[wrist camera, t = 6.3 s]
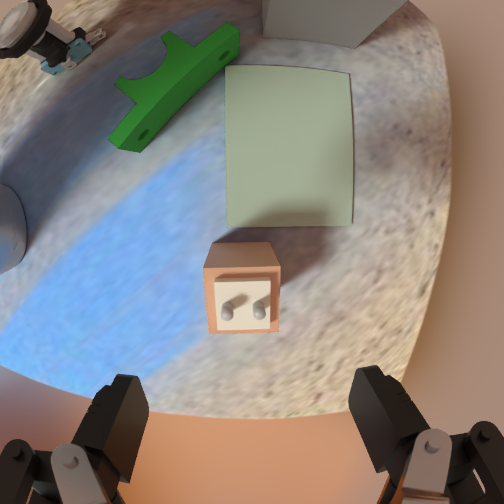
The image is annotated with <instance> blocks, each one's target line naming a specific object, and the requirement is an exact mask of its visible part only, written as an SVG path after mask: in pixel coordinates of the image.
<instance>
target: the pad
mask: <svg viewBox="0 0 504 504" xmlns="http://www.w3.org/2000/svg"><path fill="white" fill-rule="evenodd" d="M225 158H226V205H227V228H240V227H294V226H351V222H352V200H353V131H352V110H351V95H350V83H349V74H346V73H340V72H333V71H326V70H319V69H310V68H300V67H287V66H267V65H229V66H225Z"/></svg>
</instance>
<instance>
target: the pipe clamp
mask: <svg viewBox="0 0 504 504" xmlns="http://www.w3.org/2000/svg"><path fill="white" fill-rule="evenodd" d="M161 39H162V41H163V42H164V44H165V46H166V47H167V54H166V57H165V59H164V61H163V63H162V64H161V66H160V67H159V68H158V69H157V70H156V71H154V72H153V73H152V74H150V75H148V76H146V77H144V78H140V79H126V78H124V77H122V76H121V77H120V78H119V79H118V80H117V81H116V82H115V83H114V85H115V86H117V87H118V88H119V89H120V90H121V91H123V92H124V93H125V94H126V95H127V96H129V97H130V98H131V99H132V100H133V101H135V102H136V103H137V104H136V105H135V106H134V107H133V108H132V110H131V111H130V112H129V113H128V114H127V115H126V117H125V118H124V119H123V120H122V121H121V123H120V124H119V125H118V126H117V128H116V129H115V130H114V131H113V133H112V134H111V135H110V136H109V138H108V140H109V141H110V142H111V143H112V144H114V145H115V146H116V147H117V148H118V149H123V150H128V151H133V152H138V153H140V152H141V151H142V150H143V149H144V148H145V146H146V145H147V144H148V143H149V142H150V141H151V139H152V138H153V137H154V136H155V135H156V134H157V133H158V131H159V130H160V129H161V128H162V127H163V126H164V125H165V124H166V123H167V122H168V120H169V119H170V118H171V117H172V116H173V115H174V114H175V113H176V112H177V111H178V110H179V109H180V108H181V107H182V106H183V105H184V104H185V103H186V102H187V101H188V100H189V99H190V98H191V97H192V96H193V95H194V94H195V93H196V92H197V91H198V90H199V89H200V88H201V87H202V86H204V85H205V84H206V83H207V82H208V81H209V80H210V79H211V78H212V77H213V76H215V75H216V74H217V73H218V72H219V71H220V70H221V69H223V68H224V67H225V66H226V65H227V64H228V63H230V62H231V61H232V60H233V59H234V58H236V57H237V56H238V55H239V30H238V29H237V28H236V27H234V26H233V25H231V24H230V23H228V22H227V23H225V24H224V25H222V26H221V27H220V28H218V29H217V30H216V31H214V32H213V33H212V34H211V35H209V36H208V37H207V38H206V39H204V40H203V41H202V42H201V43H199V44H198V45H197V46H196V47H195V48H194V47H193V46H191V45H190V44H188V43H187V42H185V41H184V40H182V39H181V38H179V37H178V36H176V35H175V34H173V33H172V32H170V31H168V32H166V33H165V34H164V35H163V36H162V37H161Z"/></svg>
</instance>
